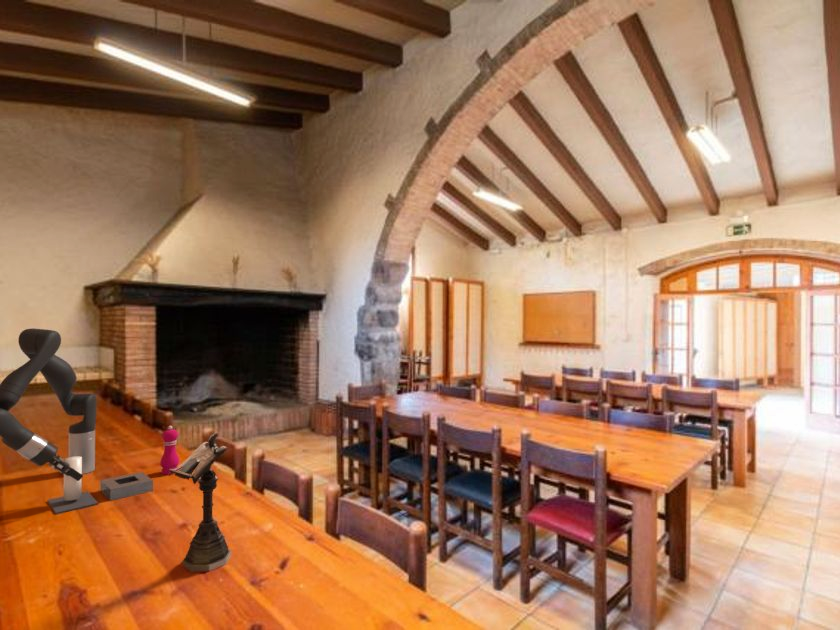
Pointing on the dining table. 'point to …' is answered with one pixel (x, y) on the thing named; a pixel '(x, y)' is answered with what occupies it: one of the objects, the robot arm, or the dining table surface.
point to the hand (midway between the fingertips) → (78, 476)
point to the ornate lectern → (205, 510)
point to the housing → (126, 485)
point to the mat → (72, 503)
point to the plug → (72, 480)
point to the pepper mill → (169, 451)
